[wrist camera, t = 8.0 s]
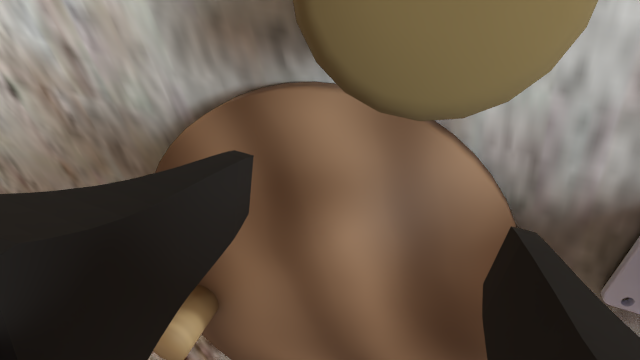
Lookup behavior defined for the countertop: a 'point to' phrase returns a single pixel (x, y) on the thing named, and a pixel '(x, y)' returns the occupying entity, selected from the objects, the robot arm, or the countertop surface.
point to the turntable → (342, 234)
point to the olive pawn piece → (439, 50)
